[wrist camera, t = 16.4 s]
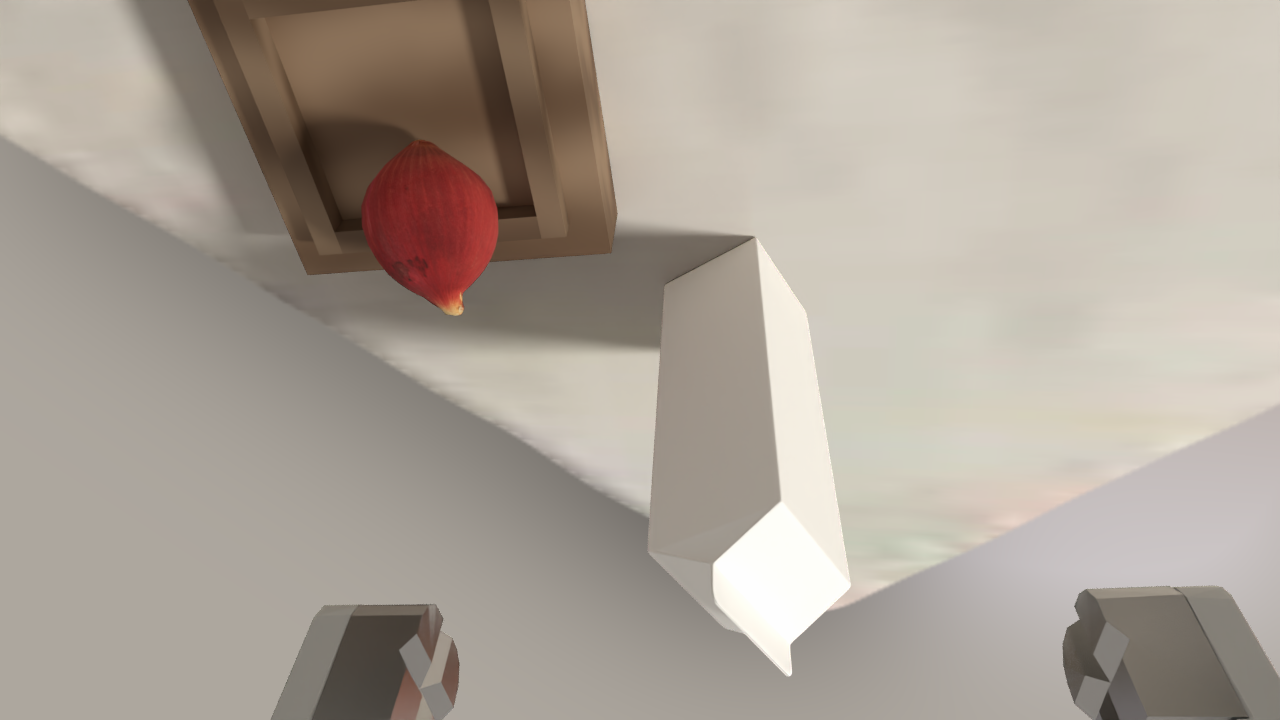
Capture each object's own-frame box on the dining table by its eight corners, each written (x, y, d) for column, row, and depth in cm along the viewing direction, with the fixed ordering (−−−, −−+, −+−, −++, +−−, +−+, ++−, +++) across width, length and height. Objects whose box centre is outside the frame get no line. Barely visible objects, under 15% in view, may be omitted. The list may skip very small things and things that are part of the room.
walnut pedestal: (207, -81, 37) (146, -52, 33) (565, -127, 35) (547, -102, 31) (333, 235, 47) (298, 287, 43) (617, 213, 45) (608, 266, 41)
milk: (756, 234, 45) (791, 569, 28) (807, 312, 48) (868, 658, 31) (661, 285, 47) (640, 622, 30) (716, 356, 50) (725, 700, 33)
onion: (362, 172, 40) (391, 337, 39) (336, 125, 34) (369, 317, 33) (485, 155, 41) (515, 315, 40) (479, 106, 35) (514, 292, 34)
